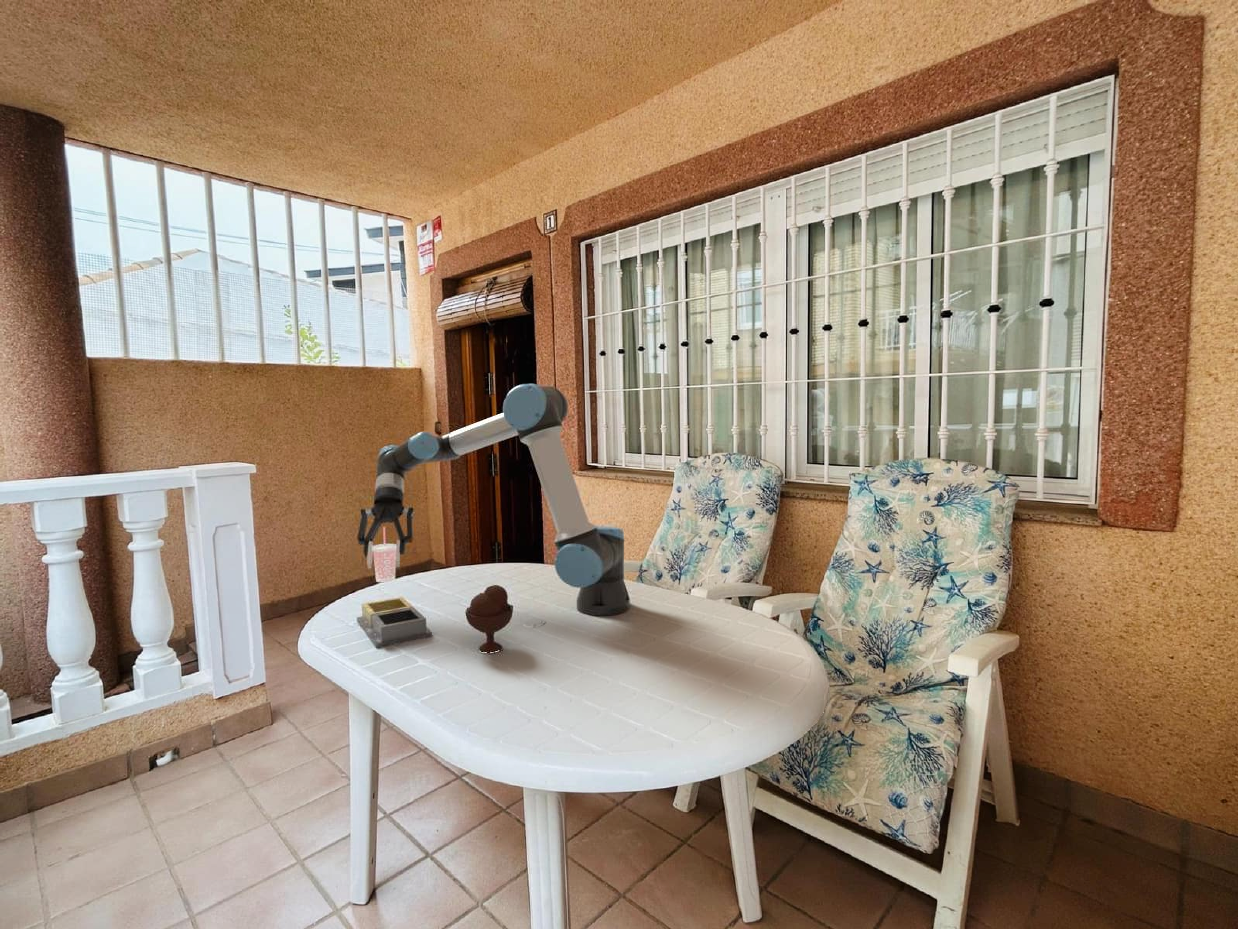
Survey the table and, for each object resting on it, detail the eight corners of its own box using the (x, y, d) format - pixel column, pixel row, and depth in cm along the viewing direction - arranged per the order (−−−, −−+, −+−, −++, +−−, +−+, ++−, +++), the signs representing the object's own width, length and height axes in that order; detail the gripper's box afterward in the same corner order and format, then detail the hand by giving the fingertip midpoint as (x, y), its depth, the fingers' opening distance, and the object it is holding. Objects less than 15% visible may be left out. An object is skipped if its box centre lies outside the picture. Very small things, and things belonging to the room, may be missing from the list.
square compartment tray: (432, 635, 142) (431, 618, 142) (376, 647, 135) (375, 629, 134) (407, 611, 160) (407, 595, 160) (356, 621, 153) (356, 604, 152)
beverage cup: (373, 584, 147) (371, 530, 146) (372, 578, 153) (371, 525, 152) (398, 581, 150) (397, 528, 149) (397, 575, 155) (396, 524, 154)
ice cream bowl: (496, 636, 142) (495, 576, 141) (523, 649, 134) (522, 586, 133) (457, 648, 134) (456, 585, 133) (483, 663, 126) (481, 596, 125)
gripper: (425, 500, 167) (423, 570, 153) (354, 502, 162) (345, 575, 148) (424, 484, 162) (421, 555, 147) (350, 485, 157) (340, 559, 142)
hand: (383, 565), depth 147 cm, fingers closed on beverage cup, 6 cm apart
